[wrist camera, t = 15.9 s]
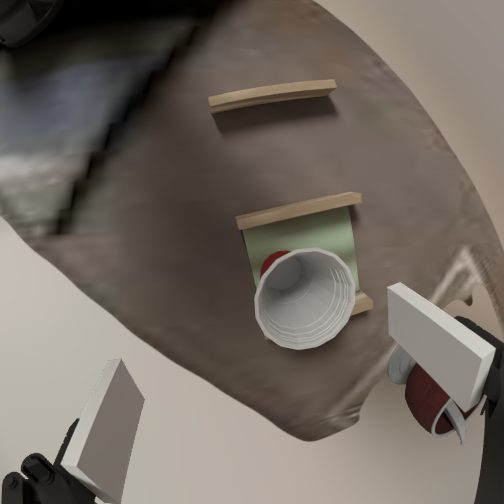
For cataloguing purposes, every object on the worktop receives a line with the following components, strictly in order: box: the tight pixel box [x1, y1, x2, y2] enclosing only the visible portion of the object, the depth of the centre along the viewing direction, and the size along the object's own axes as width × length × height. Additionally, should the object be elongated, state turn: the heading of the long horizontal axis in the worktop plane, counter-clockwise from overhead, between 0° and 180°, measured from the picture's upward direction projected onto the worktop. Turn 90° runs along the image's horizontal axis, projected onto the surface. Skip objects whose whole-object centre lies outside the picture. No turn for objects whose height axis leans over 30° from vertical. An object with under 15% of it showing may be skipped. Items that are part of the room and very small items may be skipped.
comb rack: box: [208, 79, 373, 340], centre depth 36 cm, size 32×16×4 cm, turn 13°
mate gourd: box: [387, 345, 486, 445], centre depth 37 cm, size 16×14×20 cm
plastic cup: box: [254, 247, 355, 350], centre depth 34 cm, size 11×11×12 cm
